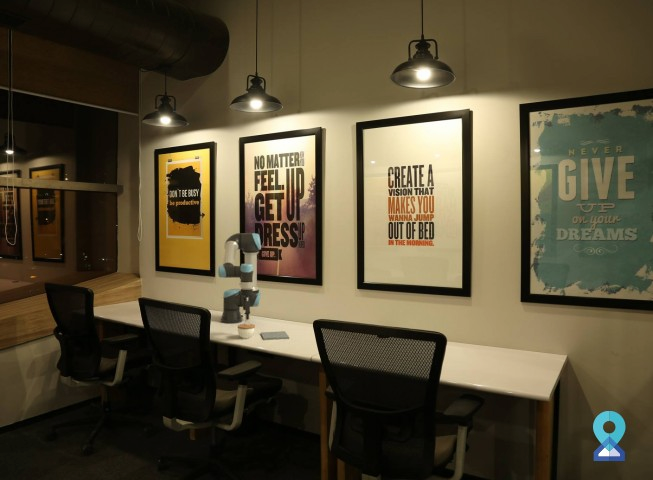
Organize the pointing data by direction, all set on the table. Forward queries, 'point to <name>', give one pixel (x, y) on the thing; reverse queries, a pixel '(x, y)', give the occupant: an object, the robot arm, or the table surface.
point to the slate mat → (274, 335)
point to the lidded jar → (246, 331)
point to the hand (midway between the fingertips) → (246, 322)
